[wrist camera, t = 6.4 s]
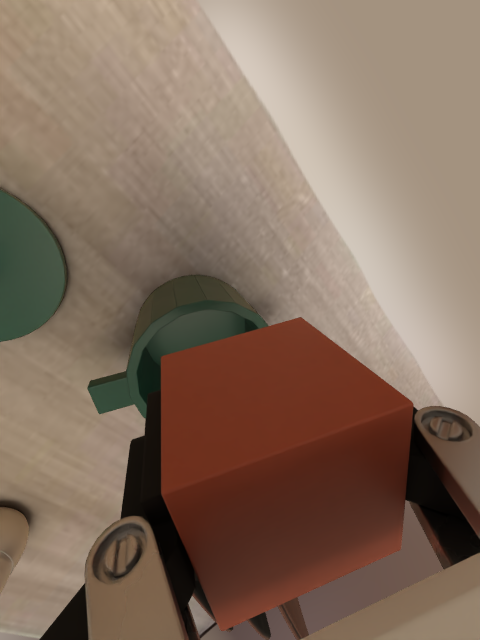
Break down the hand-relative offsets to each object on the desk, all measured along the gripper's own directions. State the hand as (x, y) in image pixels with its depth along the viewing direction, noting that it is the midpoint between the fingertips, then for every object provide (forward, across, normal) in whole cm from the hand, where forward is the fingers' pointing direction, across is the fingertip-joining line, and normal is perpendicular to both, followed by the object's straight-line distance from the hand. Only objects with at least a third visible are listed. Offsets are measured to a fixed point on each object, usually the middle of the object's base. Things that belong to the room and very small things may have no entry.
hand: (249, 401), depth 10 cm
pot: (+19, +1, +5) cm, 19 cm away
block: (0, 0, 0) cm, 0 cm away
